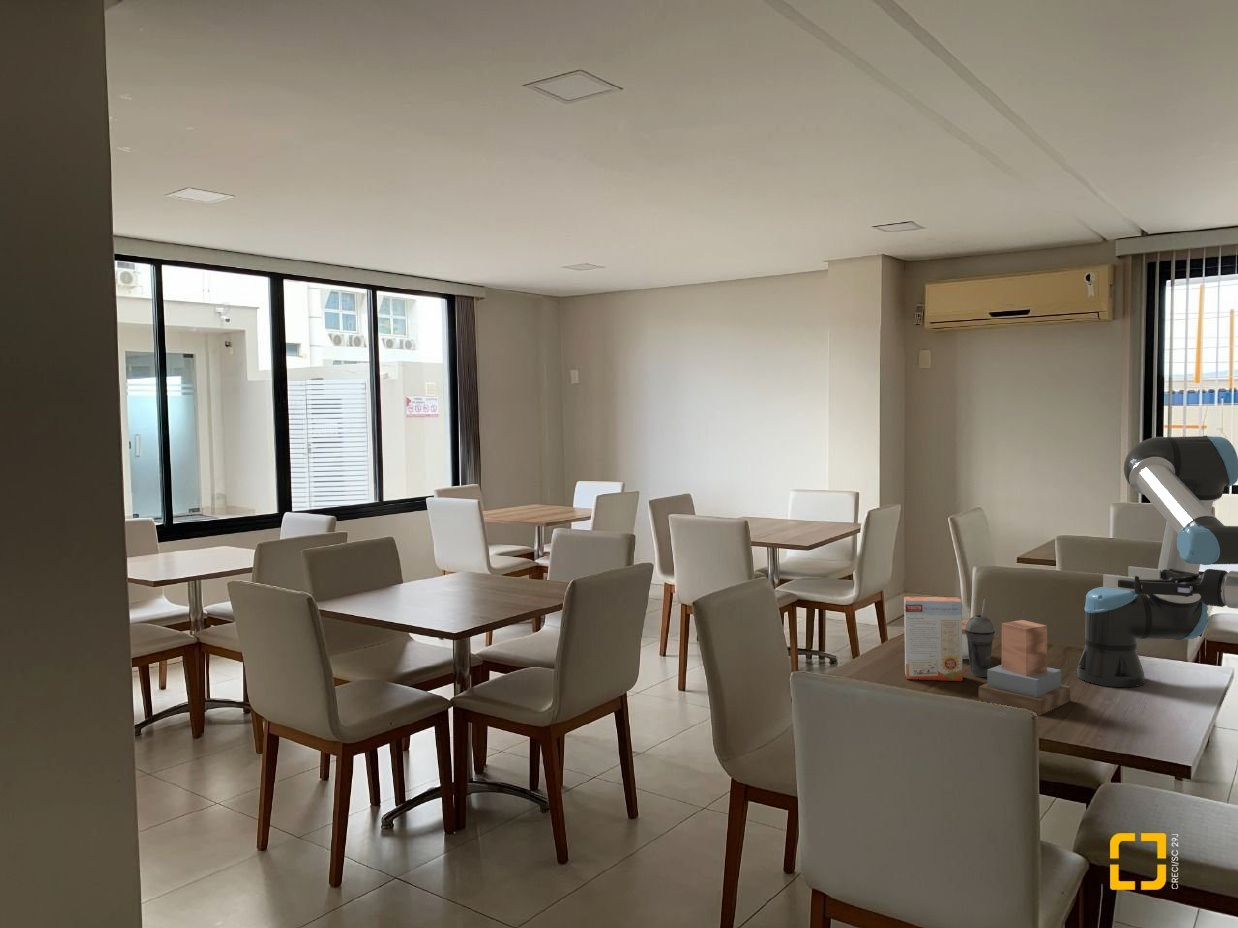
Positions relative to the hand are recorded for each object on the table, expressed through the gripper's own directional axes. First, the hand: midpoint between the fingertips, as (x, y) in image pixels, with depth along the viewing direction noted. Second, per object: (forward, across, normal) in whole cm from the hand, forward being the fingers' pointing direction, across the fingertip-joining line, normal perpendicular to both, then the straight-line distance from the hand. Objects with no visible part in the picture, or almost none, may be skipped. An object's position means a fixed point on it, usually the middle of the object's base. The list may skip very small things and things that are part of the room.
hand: (1116, 576), depth 205 cm
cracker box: (+45, 0, -32) cm, 55 cm away
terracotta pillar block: (+20, -2, -25) cm, 32 cm away
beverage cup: (+38, +11, -32) cm, 51 cm away
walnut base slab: (+20, -2, -33) cm, 38 cm away
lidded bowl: (+51, +24, -32) cm, 65 cm away
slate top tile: (+20, -2, -29) cm, 35 cm away
